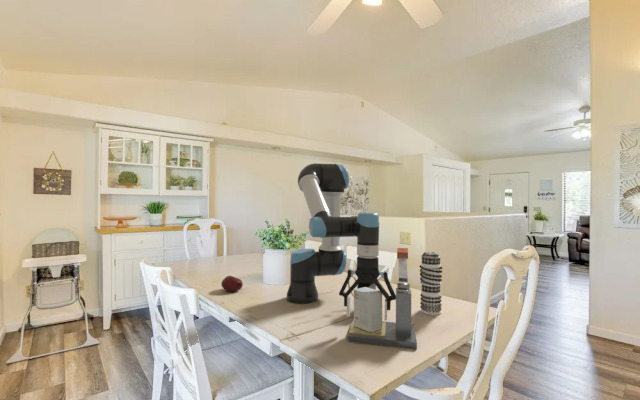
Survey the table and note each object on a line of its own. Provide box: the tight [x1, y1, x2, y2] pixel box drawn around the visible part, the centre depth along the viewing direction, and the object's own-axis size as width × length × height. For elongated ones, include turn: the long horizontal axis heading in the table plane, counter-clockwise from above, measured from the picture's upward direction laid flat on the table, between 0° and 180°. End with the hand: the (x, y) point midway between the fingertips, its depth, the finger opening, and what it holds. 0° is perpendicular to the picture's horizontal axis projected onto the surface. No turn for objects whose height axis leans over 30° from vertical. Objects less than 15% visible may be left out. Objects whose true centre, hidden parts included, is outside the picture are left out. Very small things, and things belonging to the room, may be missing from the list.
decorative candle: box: [418, 251, 443, 316], centre depth 137 cm, size 9×9×25 cm
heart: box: [221, 275, 244, 293], centre depth 168 cm, size 12×8×10 cm
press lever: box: [396, 247, 411, 290], centre depth 119 cm, size 4×22×3 cm, turn 167°
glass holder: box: [347, 275, 377, 298], centre depth 139 cm, size 9×14×15 cm, turn 47°
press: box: [347, 287, 418, 350], centre depth 112 cm, size 22×16×16 cm
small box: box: [353, 287, 383, 333], centre depth 114 cm, size 8×6×13 cm
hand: (366, 317), depth 114 cm, fingers open, 12 cm apart
